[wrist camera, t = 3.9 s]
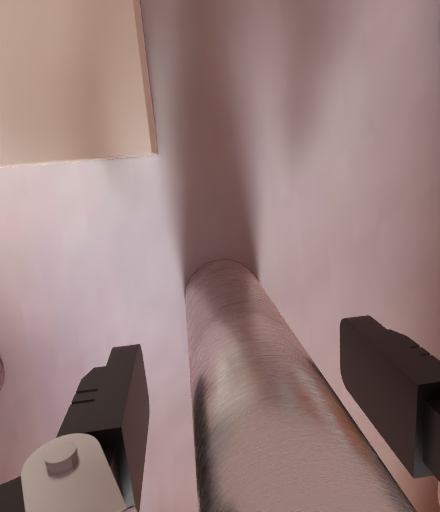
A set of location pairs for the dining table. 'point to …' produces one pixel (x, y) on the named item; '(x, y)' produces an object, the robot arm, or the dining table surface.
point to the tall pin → (270, 411)
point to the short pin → (1, 374)
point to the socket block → (73, 82)
